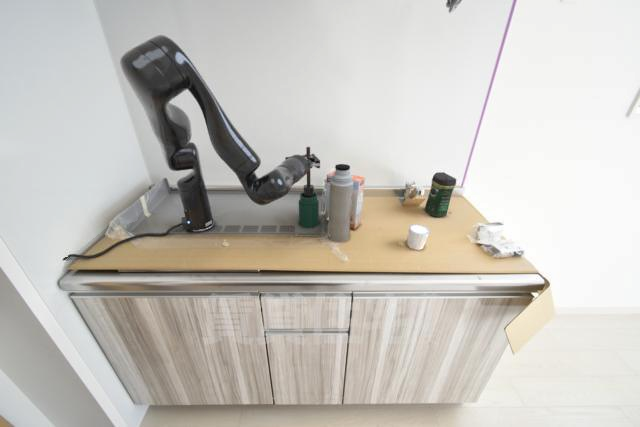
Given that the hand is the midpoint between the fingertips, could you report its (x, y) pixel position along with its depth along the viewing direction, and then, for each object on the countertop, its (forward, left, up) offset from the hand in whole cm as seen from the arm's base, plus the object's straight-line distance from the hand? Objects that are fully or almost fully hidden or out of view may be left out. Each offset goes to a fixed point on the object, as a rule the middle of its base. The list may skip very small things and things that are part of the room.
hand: (310, 156), depth 90 cm
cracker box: (+11, -8, -28) cm, 31 cm away
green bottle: (-2, -2, -28) cm, 28 cm away
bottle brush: (-2, -2, -16) cm, 16 cm away
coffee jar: (+54, -20, -28) cm, 64 cm away
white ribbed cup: (+26, -34, -28) cm, 51 cm away
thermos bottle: (+4, -16, -28) cm, 32 cm away
